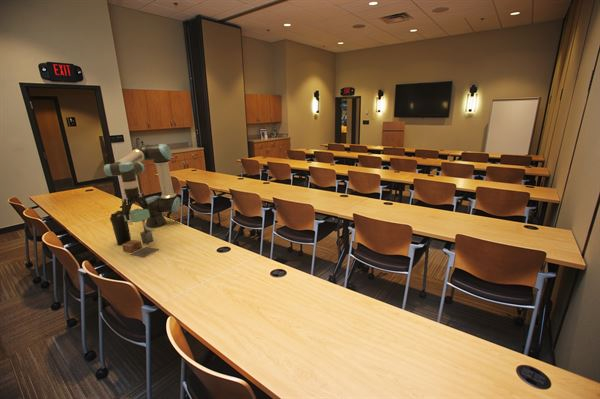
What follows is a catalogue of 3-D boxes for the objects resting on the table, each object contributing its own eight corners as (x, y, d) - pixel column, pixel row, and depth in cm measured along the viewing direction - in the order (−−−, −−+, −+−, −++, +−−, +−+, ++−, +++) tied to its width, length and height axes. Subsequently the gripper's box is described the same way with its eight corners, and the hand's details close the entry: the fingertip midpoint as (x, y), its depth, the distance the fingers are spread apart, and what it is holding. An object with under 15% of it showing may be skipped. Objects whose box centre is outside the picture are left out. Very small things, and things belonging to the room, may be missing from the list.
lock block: (148, 240, 209) (146, 229, 207) (153, 241, 207) (151, 230, 205) (142, 243, 205) (140, 232, 202) (147, 244, 203) (145, 233, 201)
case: (134, 246, 201) (132, 239, 199) (142, 248, 198) (140, 241, 196) (123, 251, 194) (121, 244, 192) (131, 253, 191) (130, 246, 189)
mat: (146, 246, 199) (145, 246, 199) (159, 249, 194) (158, 249, 194) (130, 254, 188) (130, 254, 188) (143, 257, 184) (143, 257, 184)
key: (138, 233, 201) (135, 218, 197) (151, 228, 208) (148, 214, 205) (146, 236, 195) (143, 220, 192) (159, 231, 202) (156, 216, 199)
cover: (150, 217, 187) (148, 209, 186) (136, 222, 178) (134, 214, 177) (138, 215, 191) (137, 207, 189) (124, 220, 182) (123, 212, 181)
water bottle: (135, 239, 211) (129, 209, 205) (126, 246, 202) (119, 214, 195) (122, 239, 212) (115, 209, 206) (112, 246, 203) (105, 214, 196)
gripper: (142, 182, 190) (148, 215, 197) (109, 191, 170) (117, 227, 177) (150, 183, 187) (157, 216, 194) (117, 192, 167) (126, 228, 174)
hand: (138, 221), depth 185 cm, fingers closed on cover, 10 cm apart
